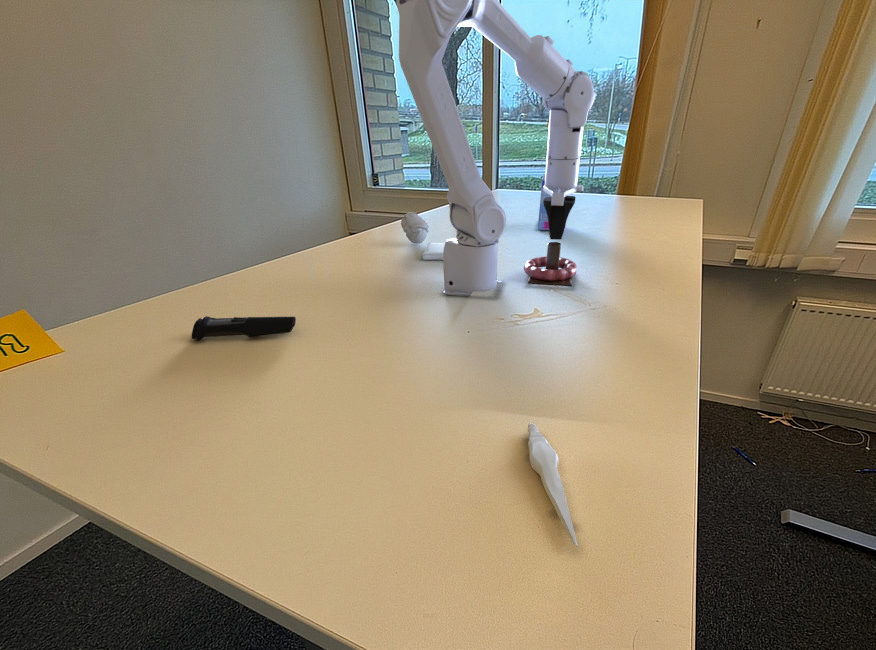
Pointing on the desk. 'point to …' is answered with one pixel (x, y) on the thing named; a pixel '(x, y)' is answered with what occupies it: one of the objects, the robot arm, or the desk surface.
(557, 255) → the stand
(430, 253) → the hard drive
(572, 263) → the ring
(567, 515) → the grey tapered spike
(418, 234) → the white lumpy rounded piece
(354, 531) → the desk surface
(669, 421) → the desk surface
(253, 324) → the electric trimmer
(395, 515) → the desk surface
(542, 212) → the ink cartridge box
